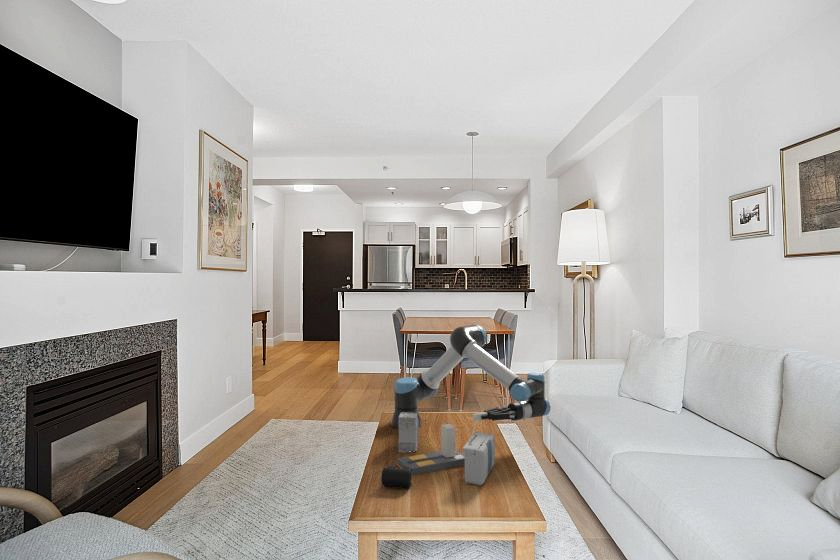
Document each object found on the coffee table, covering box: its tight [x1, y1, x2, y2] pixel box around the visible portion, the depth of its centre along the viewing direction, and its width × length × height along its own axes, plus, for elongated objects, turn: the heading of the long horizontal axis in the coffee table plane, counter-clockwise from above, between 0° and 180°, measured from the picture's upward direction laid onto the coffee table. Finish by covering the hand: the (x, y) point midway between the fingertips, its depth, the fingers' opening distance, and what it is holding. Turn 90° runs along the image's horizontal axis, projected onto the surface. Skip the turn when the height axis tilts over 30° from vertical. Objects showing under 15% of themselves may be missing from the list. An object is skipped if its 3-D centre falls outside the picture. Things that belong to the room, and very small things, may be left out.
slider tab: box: [440, 423, 457, 458], centre depth 196 cm, size 5×4×12 cm
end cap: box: [380, 465, 413, 490], centre depth 172 cm, size 10×7×7 cm
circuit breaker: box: [397, 412, 420, 453], centre depth 214 cm, size 8×14×15 cm, turn 174°
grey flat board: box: [396, 449, 465, 476], centre depth 193 cm, size 12×26×3 cm, turn 116°
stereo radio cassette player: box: [461, 416, 496, 487], centre depth 183 cm, size 21×8×20 cm, turn 160°
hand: (473, 417), depth 203 cm, fingers closed
